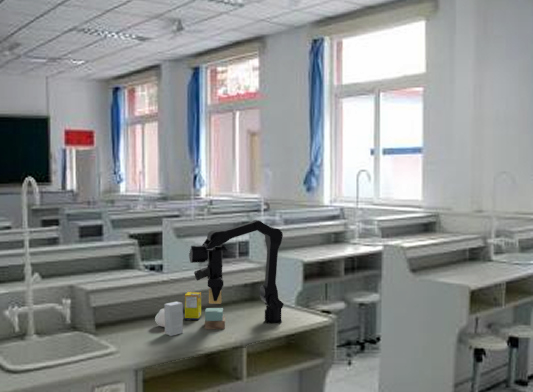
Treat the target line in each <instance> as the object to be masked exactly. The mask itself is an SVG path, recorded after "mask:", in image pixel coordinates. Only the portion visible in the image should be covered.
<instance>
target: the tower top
mask: <svg viewBox="0 0 533 392" xmlns="http://www.w3.org/2000/svg"><path fill="white" fill-rule="evenodd" d="M204 311H205V312H204V322H205V321H223V316H224V308H223V307H206V308H205V310H204Z"/></svg>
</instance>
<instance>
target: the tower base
mask: <svg viewBox="0 0 533 392" xmlns="http://www.w3.org/2000/svg"><path fill="white" fill-rule="evenodd" d="M225 326H226V319H225V315H223V321H205V320H204V329H205V330H225V328H226V327H225Z"/></svg>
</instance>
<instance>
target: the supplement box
mask: <svg viewBox="0 0 533 392" xmlns="http://www.w3.org/2000/svg"><path fill="white" fill-rule="evenodd" d="M201 318H202V292H201V291H187V292H186V293H185V294H184V320H185V321H190V320H191V321H199V320H200V319H201Z"/></svg>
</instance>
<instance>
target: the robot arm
mask: <svg viewBox="0 0 533 392" xmlns="http://www.w3.org/2000/svg"><path fill="white" fill-rule="evenodd" d="M256 231H257V232H259V233H260V234H262V235H263V236H264V241H265V245H266V263H265V273H264V274H265V276H264V282H263V285H259V293H258V295H259V296H260V299H261V301H262V302H264V305H265V309H264V321H265V322H266V323H267V324H275V323H278V324H280V323H283V321H282V309H283V307H284V302H283V301H282V300H281V299H279V292H278V286H277V283H276V281H277V271H278V270H277V268H278V254H279V253H278V252H279V248H280V247H281V244H282V242H283V241H282V240H283V236H284V234H283V231H282V230H281V229H279V228H277V227H272V226H270V225H268V224H266V223H264V222H263V221H261V220H258V219H254V220H252V221H249V222H246V223H243V224H240V225H236V226H233V227H229V228H222V229H220V228H219V229H213V230H210V231H209V232H208V233H207V235H206V236H207V237H206V239H205V240H204V242H203V243H202V245H191V246H190V250H189V253H188V257H189V262H190V264H195V263H206V261H207V265H206V267H203V268H200V269H197V270H195V271H194V272H193V274H194V277H195V280H196V281H200V280H201V279H204V278H207V287H208V288H209V289H212V294H213V299H214V301H217V299H218V296H219V294H220V291H221V292H222V289H223V287H224V279H223V251H224V252H225V251H228V248H227V247H226V246H225V243H227V242H228V241H230V240H232V239H234V238H238V237H240V236H244V235H246V234H251V233H252V232H256Z"/></svg>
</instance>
